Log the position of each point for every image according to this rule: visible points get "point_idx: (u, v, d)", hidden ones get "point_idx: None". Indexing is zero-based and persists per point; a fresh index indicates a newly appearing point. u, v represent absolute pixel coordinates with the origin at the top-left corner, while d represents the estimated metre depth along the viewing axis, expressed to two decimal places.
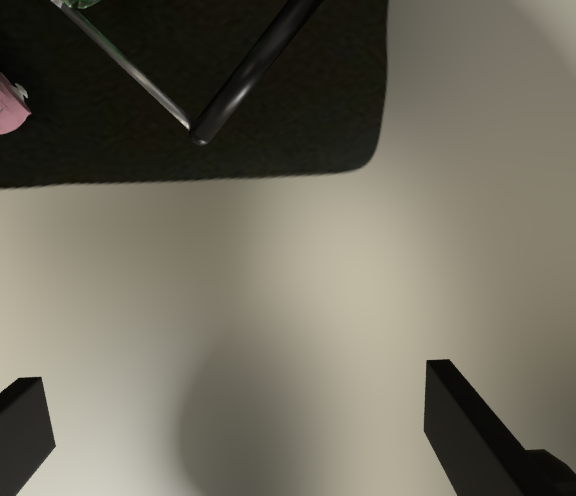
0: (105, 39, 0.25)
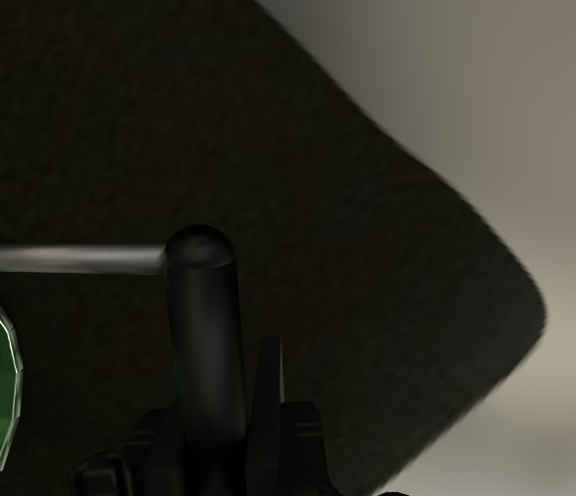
0: None
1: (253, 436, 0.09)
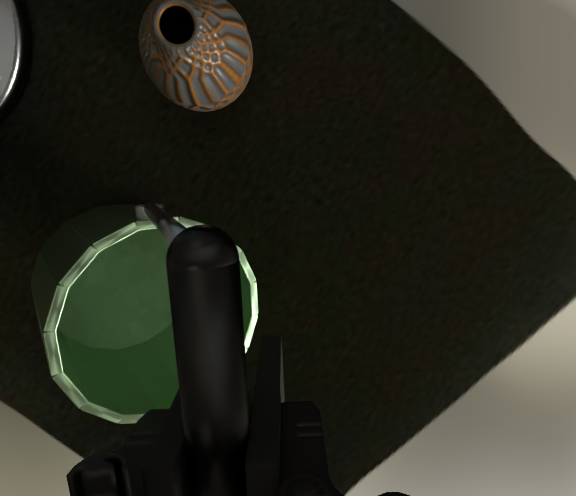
0: None
1: (254, 436, 0.09)
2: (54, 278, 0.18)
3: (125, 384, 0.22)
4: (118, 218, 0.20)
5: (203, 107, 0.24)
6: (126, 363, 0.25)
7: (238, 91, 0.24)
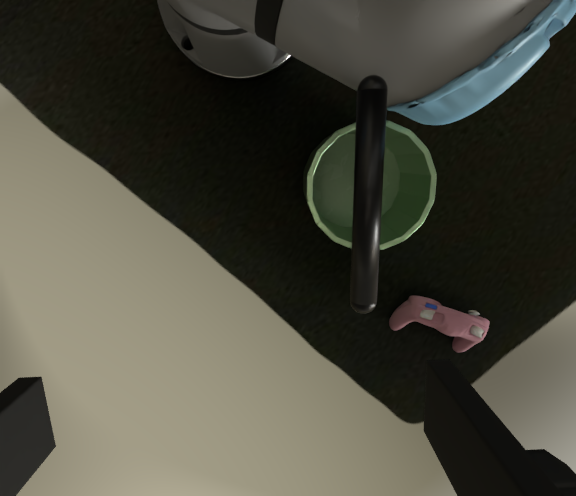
0: None
1: None
2: (316, 151, 0.33)
3: (341, 233, 0.36)
4: None
5: None
6: (345, 230, 0.40)
7: None
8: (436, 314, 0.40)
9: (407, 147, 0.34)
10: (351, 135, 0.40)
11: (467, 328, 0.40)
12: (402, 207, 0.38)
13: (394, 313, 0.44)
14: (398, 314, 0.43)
